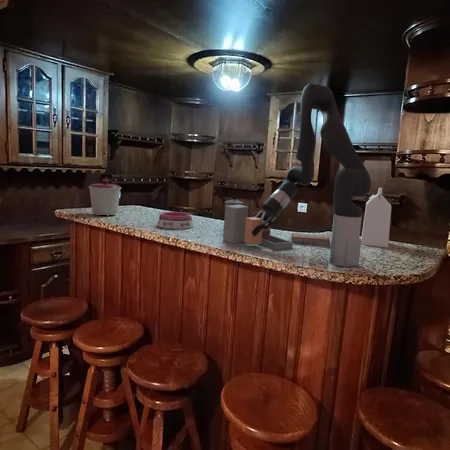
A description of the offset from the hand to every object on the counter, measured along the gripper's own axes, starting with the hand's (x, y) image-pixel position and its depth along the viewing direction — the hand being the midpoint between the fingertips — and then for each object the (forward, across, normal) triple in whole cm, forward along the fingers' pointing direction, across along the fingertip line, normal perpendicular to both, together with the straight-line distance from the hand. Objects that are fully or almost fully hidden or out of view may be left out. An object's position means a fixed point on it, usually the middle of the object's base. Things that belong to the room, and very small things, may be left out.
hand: (249, 232), depth 149 cm
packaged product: (-17, +1, +26) cm, 31 cm away
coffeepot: (-4, -34, +13) cm, 36 cm away
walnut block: (-4, -8, +12) cm, 16 cm away
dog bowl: (+12, -54, -2) cm, 56 cm away
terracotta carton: (+2, 0, +4) cm, 5 cm away
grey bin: (-4, -3, +13) cm, 14 cm away
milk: (-41, +7, +50) cm, 65 cm away
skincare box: (+5, -11, +4) cm, 13 cm away
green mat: (+3, 0, +6) cm, 6 cm away
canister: (+31, -98, -21) cm, 105 cm away
